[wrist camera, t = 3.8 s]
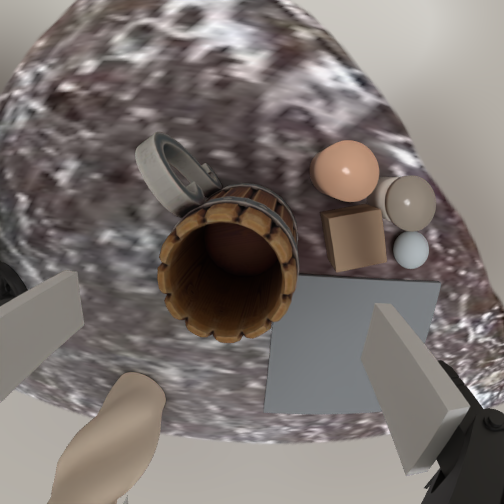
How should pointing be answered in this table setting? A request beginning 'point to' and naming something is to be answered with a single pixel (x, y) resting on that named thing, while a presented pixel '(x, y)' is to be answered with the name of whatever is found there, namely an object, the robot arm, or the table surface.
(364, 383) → the slate pad
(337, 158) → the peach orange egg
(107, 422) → the cream corked bottle
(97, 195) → the table surface
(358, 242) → the walnut block
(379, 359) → the robot arm
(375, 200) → the jar
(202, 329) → the mug
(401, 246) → the grey ball
